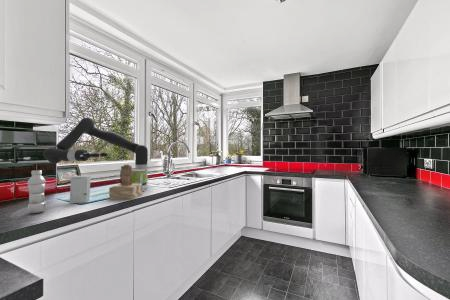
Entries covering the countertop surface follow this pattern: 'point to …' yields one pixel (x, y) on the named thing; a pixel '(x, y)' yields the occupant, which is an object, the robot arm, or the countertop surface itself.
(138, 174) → the tea box
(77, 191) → the skincare box
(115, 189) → the plinth
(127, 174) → the walnut block
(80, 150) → the robot arm
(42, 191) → the plastic bottle
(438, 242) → the countertop surface
